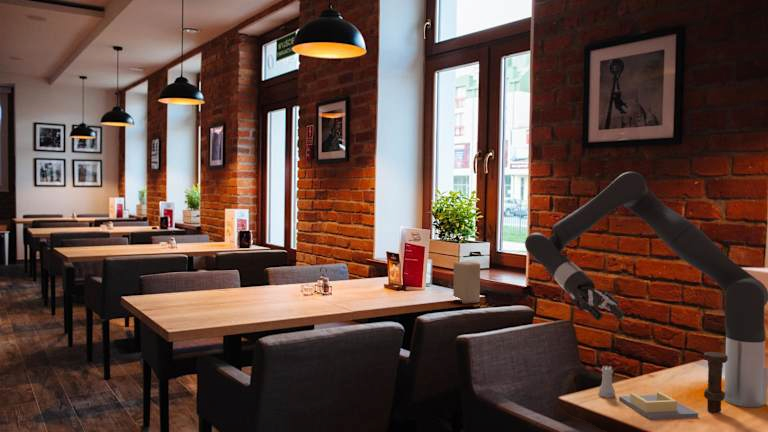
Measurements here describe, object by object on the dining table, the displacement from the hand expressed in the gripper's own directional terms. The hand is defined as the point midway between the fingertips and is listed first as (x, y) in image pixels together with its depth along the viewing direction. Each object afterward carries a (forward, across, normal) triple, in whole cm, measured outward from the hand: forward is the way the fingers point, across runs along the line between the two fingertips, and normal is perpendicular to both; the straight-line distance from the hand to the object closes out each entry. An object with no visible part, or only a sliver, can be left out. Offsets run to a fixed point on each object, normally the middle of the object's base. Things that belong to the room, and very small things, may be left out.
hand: (611, 317), depth 175 cm
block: (-111, +64, +87) cm, 155 cm away
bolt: (+28, +16, +8) cm, 34 cm away
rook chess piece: (+9, +3, +21) cm, 23 cm away
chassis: (+21, +6, +13) cm, 25 cm away
